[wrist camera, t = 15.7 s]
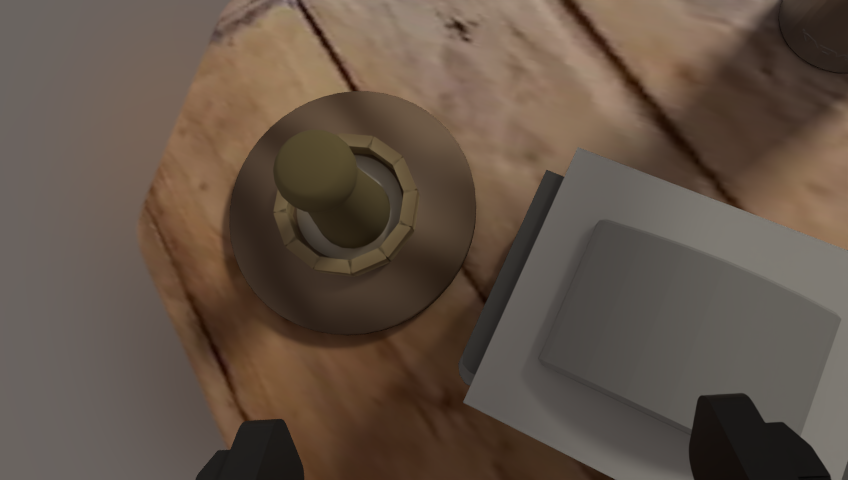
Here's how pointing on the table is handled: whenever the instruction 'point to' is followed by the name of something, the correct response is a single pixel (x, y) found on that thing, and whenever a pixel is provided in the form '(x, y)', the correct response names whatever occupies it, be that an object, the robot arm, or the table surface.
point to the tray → (381, 259)
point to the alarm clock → (657, 323)
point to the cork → (331, 188)
